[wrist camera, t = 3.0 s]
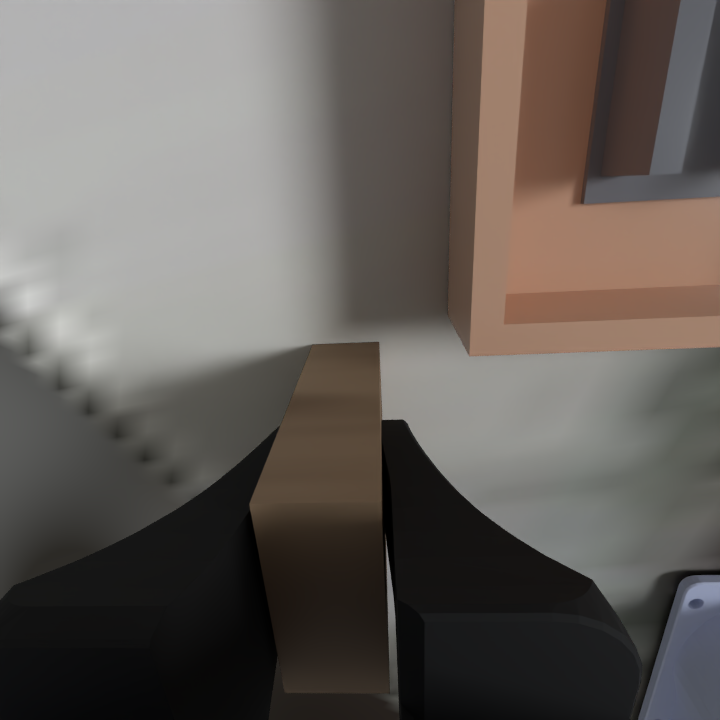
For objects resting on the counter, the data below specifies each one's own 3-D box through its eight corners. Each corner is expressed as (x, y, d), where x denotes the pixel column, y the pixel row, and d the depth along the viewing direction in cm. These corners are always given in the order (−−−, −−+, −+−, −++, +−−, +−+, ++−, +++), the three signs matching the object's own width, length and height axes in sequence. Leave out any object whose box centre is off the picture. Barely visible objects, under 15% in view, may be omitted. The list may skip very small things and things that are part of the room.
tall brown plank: (384, 467, 15) (389, 693, 8) (325, 469, 15) (285, 692, 8) (379, 341, 13) (381, 501, 6) (312, 344, 13) (249, 504, 7)
